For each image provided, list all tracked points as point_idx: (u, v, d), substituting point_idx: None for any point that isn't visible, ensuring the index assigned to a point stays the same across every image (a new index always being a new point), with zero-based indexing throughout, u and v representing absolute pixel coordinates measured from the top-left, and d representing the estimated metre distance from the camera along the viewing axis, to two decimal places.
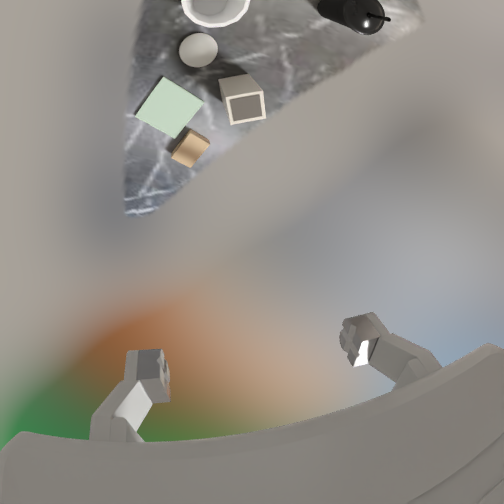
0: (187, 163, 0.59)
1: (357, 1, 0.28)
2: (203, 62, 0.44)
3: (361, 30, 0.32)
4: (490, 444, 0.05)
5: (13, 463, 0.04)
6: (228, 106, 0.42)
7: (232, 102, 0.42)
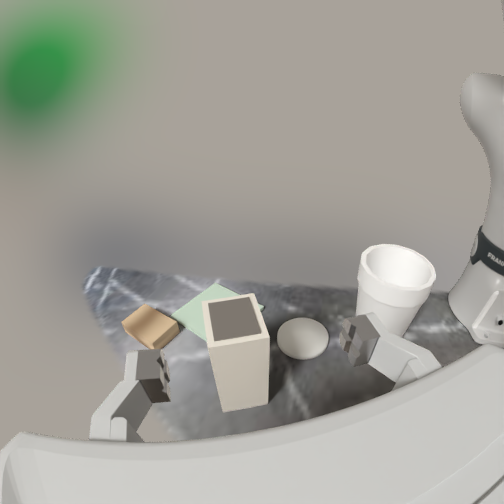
0: (129, 319, 0.39)
1: None
2: (284, 341, 0.37)
3: None
4: (490, 444, 0.05)
5: (13, 463, 0.04)
6: (236, 297, 0.28)
7: (243, 299, 0.28)
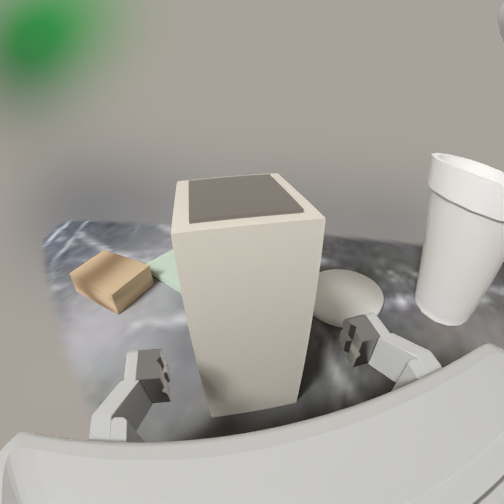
0: (81, 269, 0.25)
1: None
2: (317, 300, 0.23)
3: None
4: (490, 444, 0.05)
5: (13, 463, 0.04)
6: (245, 176, 0.14)
7: (259, 176, 0.14)
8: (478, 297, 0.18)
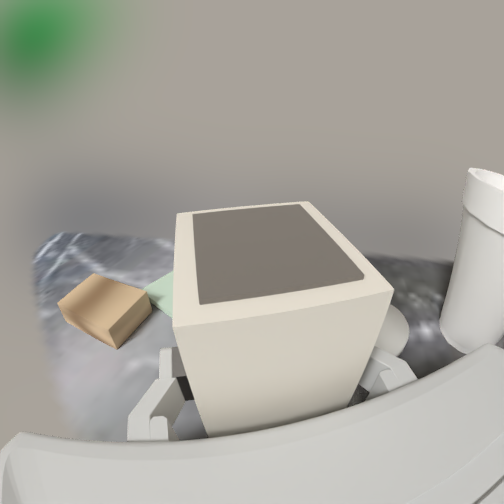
0: (70, 297, 0.21)
1: None
2: None
3: None
4: (490, 444, 0.05)
5: (13, 463, 0.04)
6: (267, 206, 0.11)
7: (287, 208, 0.11)
8: None
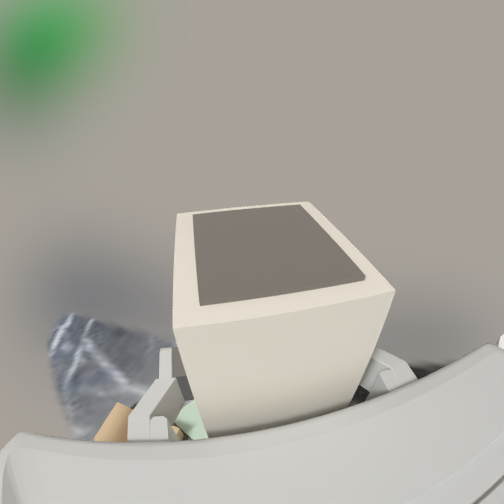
0: (104, 433, 0.20)
1: None
2: None
3: None
4: (490, 444, 0.05)
5: (13, 463, 0.04)
6: (268, 206, 0.11)
7: (288, 208, 0.10)
8: None
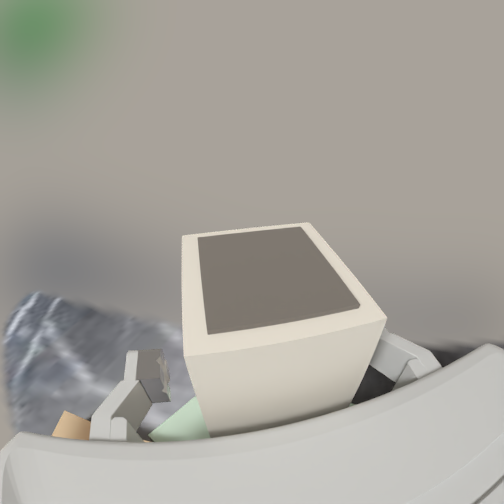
0: None
1: None
2: None
3: None
4: (490, 444, 0.05)
5: (13, 463, 0.04)
6: (270, 228, 0.12)
7: (288, 230, 0.11)
8: None
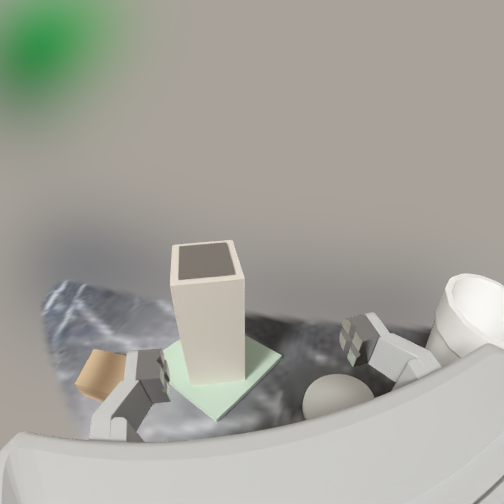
0: (84, 376, 0.23)
1: None
2: (314, 413, 0.22)
3: None
4: (490, 444, 0.05)
5: (13, 463, 0.04)
6: (212, 242, 0.25)
7: (219, 244, 0.24)
8: None
